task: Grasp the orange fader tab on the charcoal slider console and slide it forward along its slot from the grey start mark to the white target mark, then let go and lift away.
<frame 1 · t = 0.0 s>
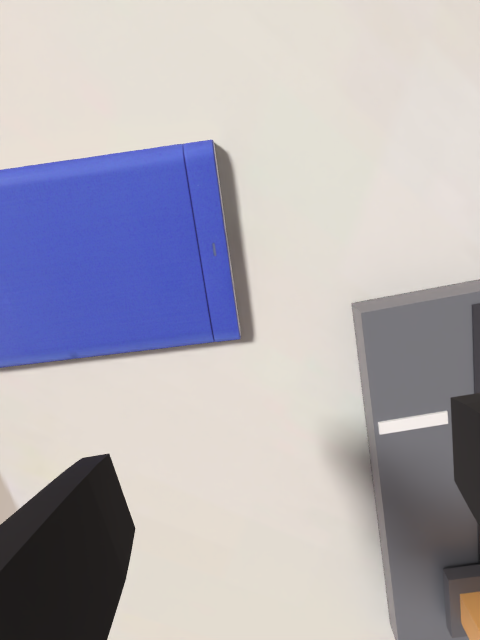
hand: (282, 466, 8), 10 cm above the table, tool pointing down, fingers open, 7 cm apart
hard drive: (93, 260, 18), on the table
console: (472, 471, 20), on the table
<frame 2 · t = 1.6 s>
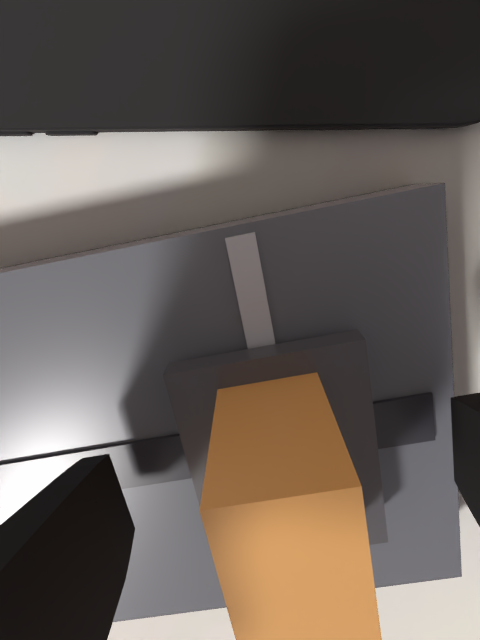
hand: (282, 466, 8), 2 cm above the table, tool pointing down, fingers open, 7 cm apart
fader: (289, 511, 7), point 4 cm above the table, slide at 0.0 cm
console: (64, 442, 11), on the table
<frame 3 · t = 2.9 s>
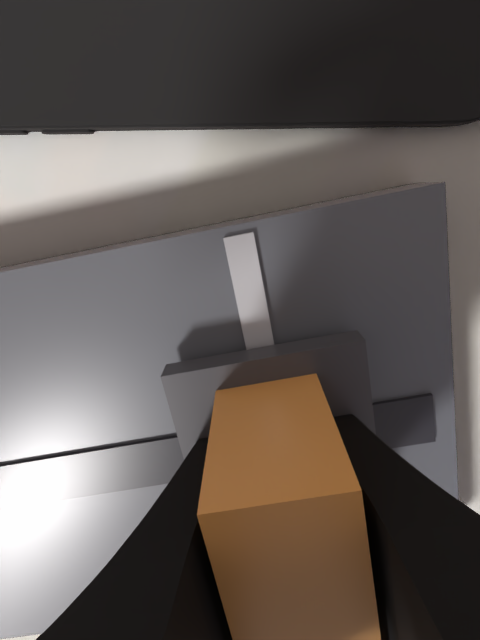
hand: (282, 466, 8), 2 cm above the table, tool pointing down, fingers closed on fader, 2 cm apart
fader: (288, 513, 7), point 4 cm above the table, slide at 0.0 cm, touching gripper
console: (61, 443, 11), on the table
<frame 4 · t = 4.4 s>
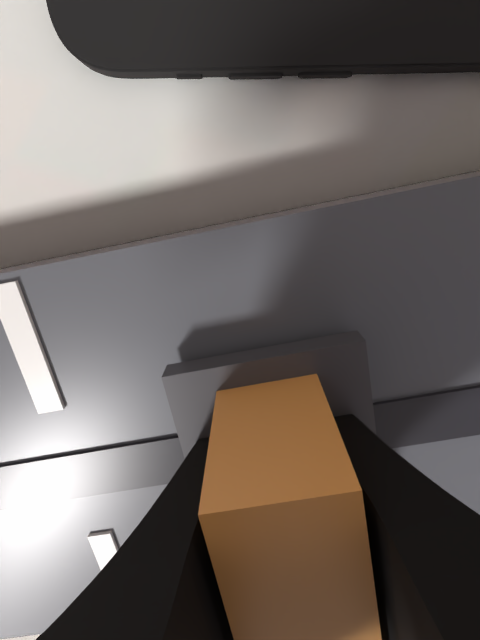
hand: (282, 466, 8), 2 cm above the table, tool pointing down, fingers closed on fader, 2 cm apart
fader: (289, 513, 7), point 4 cm above the table, slide at 5.6 cm, touching gripper
console: (259, 410, 11), on the table
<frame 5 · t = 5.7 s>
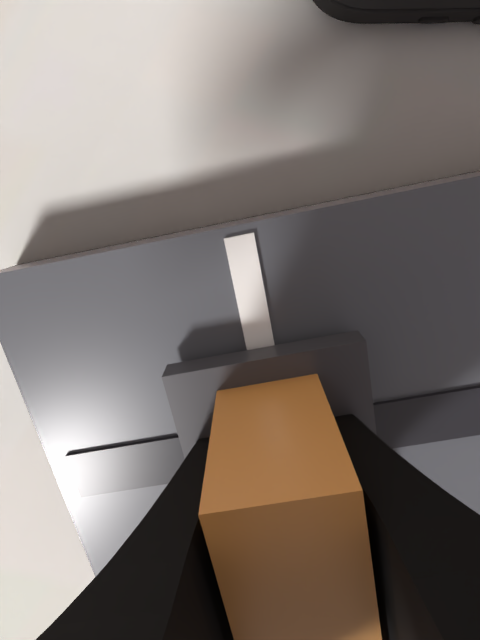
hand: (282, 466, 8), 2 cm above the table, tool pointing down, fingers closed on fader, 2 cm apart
fader: (289, 513, 7), point 4 cm above the table, slide at 10.5 cm, touching gripper
console: (445, 379, 10), on the table
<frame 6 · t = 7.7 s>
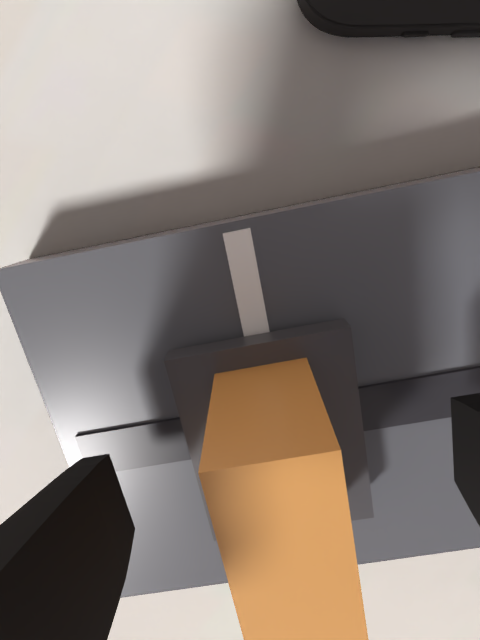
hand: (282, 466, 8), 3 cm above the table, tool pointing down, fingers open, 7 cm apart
fader: (280, 483, 8), point 4 cm above the table, slide at 10.5 cm
console: (430, 366, 11), on the table
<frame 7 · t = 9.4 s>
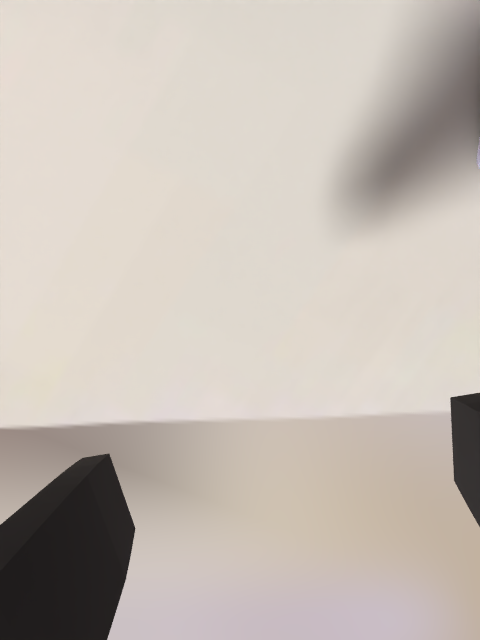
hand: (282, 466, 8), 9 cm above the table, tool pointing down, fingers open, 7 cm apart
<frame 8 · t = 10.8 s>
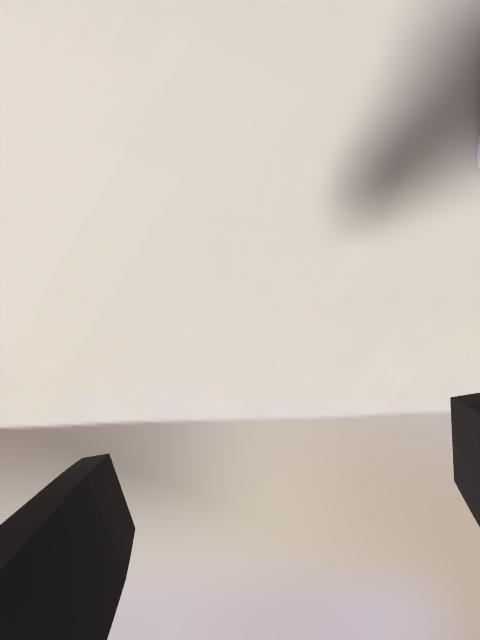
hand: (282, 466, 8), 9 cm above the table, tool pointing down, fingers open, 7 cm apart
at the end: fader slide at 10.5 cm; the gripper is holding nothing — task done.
